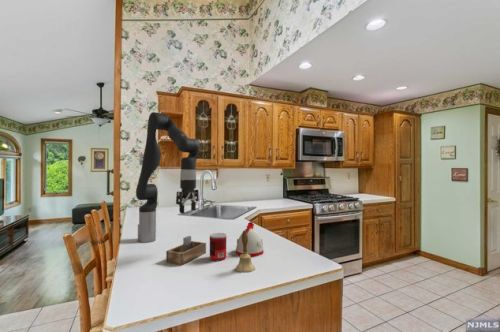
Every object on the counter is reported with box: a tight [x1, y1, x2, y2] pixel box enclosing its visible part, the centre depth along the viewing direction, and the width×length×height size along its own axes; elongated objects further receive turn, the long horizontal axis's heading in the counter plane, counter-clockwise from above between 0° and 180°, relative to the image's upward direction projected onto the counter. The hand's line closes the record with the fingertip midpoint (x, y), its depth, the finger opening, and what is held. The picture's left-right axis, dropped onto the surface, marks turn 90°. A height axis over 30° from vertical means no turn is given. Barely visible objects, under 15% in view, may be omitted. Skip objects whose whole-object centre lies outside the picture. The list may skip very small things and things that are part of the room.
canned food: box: [209, 232, 227, 262], centre depth 119 cm, size 8×8×11 cm
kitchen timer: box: [235, 221, 264, 258], centre depth 128 cm, size 14×14×15 cm
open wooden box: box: [165, 240, 207, 266], centre depth 120 cm, size 9×18×5 cm, turn 156°
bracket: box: [182, 235, 192, 253], centre depth 120 cm, size 5×4×9 cm
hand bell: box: [235, 229, 256, 273], centre depth 106 cm, size 8×8×16 cm
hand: (187, 211), depth 124 cm, fingers open, 8 cm apart
